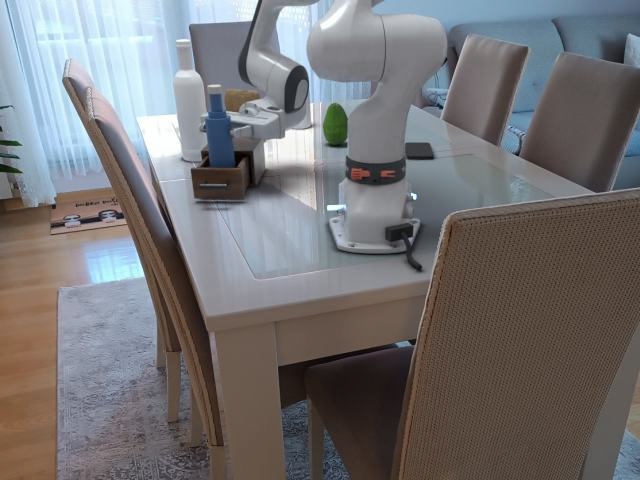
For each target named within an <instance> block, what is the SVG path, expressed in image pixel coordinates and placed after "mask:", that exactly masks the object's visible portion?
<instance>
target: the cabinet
mask: <svg viewBox="0 0 640 480" xmlns="http://www.w3.org/2000/svg"><path fill="white" fill-rule="evenodd" d="M264 144H265V140H261V139H260V140H251V139H249V138H248V137H239V138H233V147H234V154H249V155H250V167H251V179H252V180H251V181H250V183H249V185H248V186H247V188H251V187H252V188H253V187H254V188H255V187H257V186H258V184H259V182H260V180H261V179H262V176H263V175H264V173H265V171H266V156H265V145H264ZM208 154H209V151H208V144H207V145H206V146H205V147H204V148H203V149H202V150H201V157H202V160H203V159H204V158H205V157H206V156H207V155H208Z"/></svg>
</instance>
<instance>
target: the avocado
mask: <svg viewBox="0 0 640 480" xmlns="http://www.w3.org/2000/svg"><path fill="white" fill-rule="evenodd" d="M348 118H349V117H348V114H347V112H346V110H345V109H344V108H343V106H342V105H341V104H340V103H338V102H332V103H330V104H329V106H328V107H327V109H326V113H325V116H324V119H323V123H322V132H323V136H324V138H325V141H326V142H327V143H328V144H330V145H332V146H338V145H339V146H340V145H342V144H344V143H345V142H346V141H347V140H348Z"/></svg>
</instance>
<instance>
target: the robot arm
mask: <svg viewBox="0 0 640 480" xmlns="http://www.w3.org/2000/svg"><path fill="white" fill-rule="evenodd" d="M320 1H321V0H258V1H257V4H256V6H255V10H254V13H253V16H252V20H251V24H250V26H249V30H248V32H247V35H246V39H245V41H244V44H243V46H242V48H241V49H240V52H239V54H238V57H237V60H236V61H237V63H236V66H237V71H238V74H239V77H240V79H241V81H242V82H243V83H245V84H247V85H249V86H250V87H251V86H252V87H253V88H256V89H258V90H260V91H262V92H264V93H265V96H264V97H262V98H260V99H258V100H254V101H250V102H246V103H244V104H243V105H242V106H241V107H240V109H239V112H230V111H226V115H230V116H231V126H232V129H231V130H230V133H231V134H230V136H231V137H233V138H239V137H248V138H249V139H251V140H260V139H261V140H264V141H271V140H281V139H282V140H283V139H285V138H286V132H288V131H291V130H293V129H292V128H294V127H296V126H297V125H298V124H300V123H301V122H302V121H303V119H304V118H305V115H306V110H307V107H306V103H305V101H306V99H307V96H308V92H309V91H310V77H309V73H308V71H307V68H306V67H305V66H304V65H302V64H300V63H299V62H298V61H296V60H293V58H290V57H289V56H286V55H284V54H282V53H280V52H279V51H277V50H275V48H273V46H272V43H271V40H272V37H273V34H274V32H275V28H276V25H277V22H278V19H279V16H280V14H281V11H282V10H283V9H284V8H286V7H307V6H311V5H314V4H316V3H318V2H320ZM384 1H385V0H333V2H332V4H331V6H330V8H329V9H328V10H327V12H326V13H325V14H324V15H323V16H322V17H321V18H320V19H318V20H317V21H316V22H315V23H314V25H313V26H312V27H311V29H310V31H309V32H308V36H307V40H306V45H305V46H306V50H305V51H306V57H307V61H308V65H309V67H310V68H311V70H312V71H313V73H314V74H315V75H316V76H317V77H318V78H319V79H322V80H325V81H330V82H331V81H332V82H338V83H368V82H369V83H370V82H378V83H377V87H376V88H375V91H374V93H373V94H372V95H371V96H370V97H369V98H368V99H366V100H365V101H363V102H361V103H359V104H357V105H356V106H355V107H354V108H353V109H352V111H351V112H350V114H349V115H348V117H347V118H348V138H347V155H345V162H344V169H345V170H344V171H345V172H344V173H345V178H344V179H343V180H342V181H341V182H340V183H338V204H334V205H330V204H329V205H327V207H326V208H327V211H336V213H337V215H338V216H333V217H331V218H329V220H328V221H329V222H328V226H329V228H330V231H331V234H332V237H333V240H334V242H335V245H336V248H337V249H338V250H340V251H343V252H349V253H355V254H375V255H376V254H397V253H403V252H406V254H405V255H406V259H407V261H408V263H409V264H410V265H411V266H412V267H414V268H415V269H417V270H418V271H419V270H422V268H423V266H422V264H421V263H419V262H417V261H416V260H414V257H413V255H412V246H413V243H414V241H415V240H416V236H417V234H418V232H419V229H420V227H421V220H420V219H419V218H416V217H414V216H415V208H414V207H413V206H412V203H414V200H416V199H417V194H415V193H413V192H412V191H413V190H412V189H413V186H412V184H411V183H410V182H409V181H408V179H406V172H407V171H406V169H407V156H405V143H406V142H405V140H406V130H407V129H406V128H407V122H408V117H409V112H410V109H411V107H412V104H413V103H414V101H415V99H416V96H417V95H418V93H419V91H421V89H422V87H423V86H424V85H425V84H426V83H427V82H428V81H429V80H430V79H431V78H432V77H433V76H435V75H436V74H437V73H438V72H439V71H440V69H441V68H442V67H443V65H444V63H445V60H446V59H447V54H448V47H449V46H448V37H447V33H446V30H445V29H444V26H443V25H442V24H441V22H440V21H439V20H438V19H437V18H435V17H434V18H433V17H430V16H426V15H420V14H416V13H401V14H400V13H398V14H396V13H395V14H394V13H392V14H389V13H388V14H379V13H374V11H373V9H374V7H376V6H377V5H379V4H381V3H383V2H384ZM206 116H208V112H207V113H205V114H202V115H201V116H200V121H201V124H200V125H199V131H200V132H202V133H206V125H205V117H206Z"/></svg>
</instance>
